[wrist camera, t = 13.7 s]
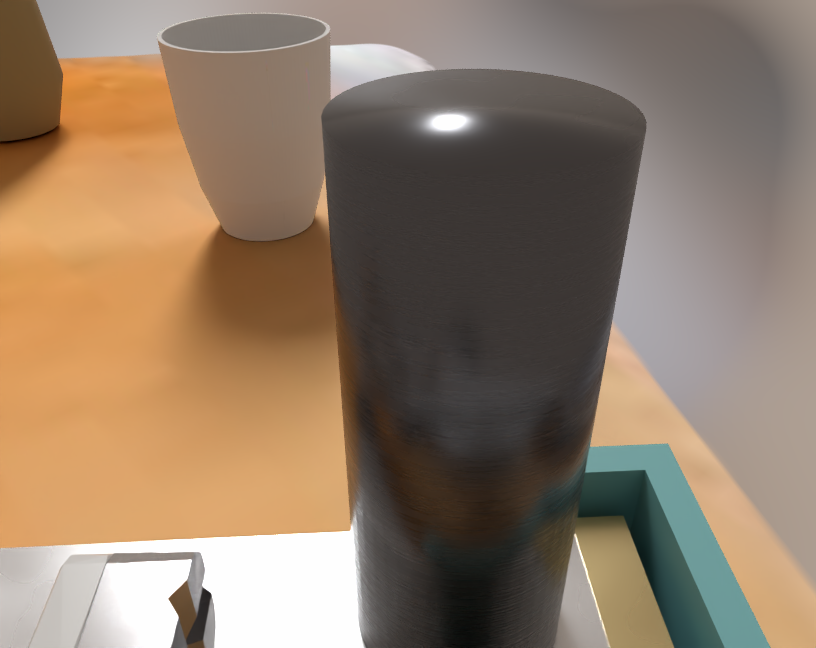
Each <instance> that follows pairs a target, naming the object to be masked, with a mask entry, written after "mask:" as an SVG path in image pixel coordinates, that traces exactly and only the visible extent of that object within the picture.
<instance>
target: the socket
mask: <svg viewBox="0 0 816 648" xmlns="http://www.w3.org/2000/svg"><path fill="white" fill-rule="evenodd" d="M602 516H624V519H625V521H626V524H627V526H628V529H629V532H630V534H631V537H632V539H633V542H634V544H635V547H636V550H637V552H638V555H639V557H640V560H641V563H642V565H643V568H644V570H645V573H646V576H647V578H648V581H649V583H650V586H651V589H652V591H653V594H654V596H655V599H656V602H657V604H658V607H659V609H660V612H661V615H662V617H663V620H664V622H665V625H666V628H667V630H668V633H669V635H670V638H671V641H672V643H673V646H674V648H770V646H769V644H768V642H767V640H766V638H765V636H764V634H763V632H762V630H761V628H760V626H759V624H758V622H757V620H756V618H755V616H754V614H753V612H752V610H751V608H750V606H749V604H748V602H747V600H746V598H745V596H744V594H743V592H742V590H741V588H740V586H739V584H738V582H737V580H736V578H735V576H734V574H733V572H732V570H731V568H730V566H729V564H728V562H727V560H726V558H725V556H724V554H723V552H722V550H721V548H720V546H719V544H718V542H717V540H716V538H715V536H714V534H713V532H712V530H711V528H710V526H709V524H708V522H707V520H706V518H705V516H704V514H703V512H702V510H701V508H700V506H699V504H698V502H697V500H696V498H695V496H694V494H693V492H692V490H691V488H690V486H689V484H688V482H687V480H686V478H685V476H684V474H683V473H682V471H681V469H680V467H679V465H678V463H677V461H676V459H675V457H674V455H673V453H672V451H671V449H670V447H669V445H668V444H649V445H625V446H602V447H590V448H589V454H588V459H587V465H586V471H585V476H584V482H583V487H582V493H581V499H580V504H579V510H578V516H577V518H581V517H602Z"/></svg>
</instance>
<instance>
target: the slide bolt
mask: <svg viewBox="0 0 816 648" xmlns="http://www.w3.org/2000/svg"><path fill="white" fill-rule="evenodd" d="M321 121H322V135H323V148H324V162H325V176H326V190H327V204H328V217H329V231H330V245H331V259H332V272H333V286H334V300H335V314H336V328H337V341H338V355H339V369H340V383H341V396H342V410H343V424H344V438H345V452H346V465H347V479H348V493H349V507H350V520H351V532H334V533H313V534H292V535H271V536H250V537H229V538H208V539H187V540H166V541H144V542H123V543H102V544H81V545H60V546H39V547H18V548H0V648H28V646H29V643H30V641H31V638H32V636H33V634H34V631H35V629H36V626H37V624H38V621H39V619H40V616H41V614H42V612H43V609H44V607H45V604H46V602H47V599H48V597H49V594H50V592H51V589H52V587H53V585H54V582H55V580H56V577H57V575H58V572H59V570H60V568H61V566H62V565H63V564H64V563H65V562H66V560H67V559H68V558H69V557H70V555H79V554H107V553H140V552H185V551H199V552H201V553H202V557H203V560H204V564H205V567H206V572H205V577H204V583H203V587H204V588H206V589H207V590H209V591H210V592H211V593H212V596H213V601H214V605H215V616H216V634H215V648H674V646H673V643H672V641H671V638H670V635H669V633H668V630H667V628H666V625H665V622H664V620H663V617H662V615H661V612H660V609H659V607H658V604H657V602H656V599H655V596H654V594H653V591H652V589H651V586H650V583H649V581H648V578H647V576H646V573H645V570H644V568H643V565H642V563H641V560H640V557H639V555H638V552H637V550H636V547H635V544H634V542H633V539H632V537H631V534H630V532H629V529H628V526H627V524H626V521H625V519H624V516H602V517H581V518H577V516H578V510H579V504H580V499H581V493H582V487H583V482H584V476H585V471H586V465H587V459H588V454H589V448H590V442H591V437H592V431H593V426H594V420H595V414H596V409H597V403H598V397H599V392H600V386H601V381H602V375H603V369H604V364H605V358H606V352H607V347H608V341H609V336H610V330H611V324H612V319H613V313H614V307H615V301H616V296H617V290H618V285H619V279H620V273H621V267H622V262H623V257H624V251H625V245H626V240H627V234H628V229H629V223H630V217H631V212H632V206H633V200H634V195H635V189H636V184H637V177H638V172H639V166H640V161H641V155H642V150H643V144H644V138H645V133H646V120H645V117H644V115H643V113H641V111H640V110H639V108H637V107H636V106H635V105H634V104H632V103H631V102H630V101H628V100H627V99H625V98H623V97H622V96H620V95H617V94H615V93H613V92H611V91H609V90H606V89H603V88H600V87H598V86H595V85H591V84H588V83H585V82H581V81H577V80H572V79H568V78H563V77H558V76H553V75H547V74H540V73H533V72H523V71H512V70H497V69H451V70H435V71H424V72H416V73H408V74H402V75H396V76H391V77H387V78H382V79H378V80H374V81H371V82H367V83H364V84H361V85H359V86H356V87H353V88H351V89H349V90H347V91H345V92H343V93H341V94H339V95H338V96H336V97H335V98H333V99H332V100H331V101H330V102H329V103H328V104H327V105H326V106H325V108H324V109H323V112H322V115H321Z"/></svg>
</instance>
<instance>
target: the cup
mask: <svg viewBox="0 0 816 648" xmlns="http://www.w3.org/2000/svg"><path fill="white" fill-rule="evenodd" d="M157 40H158V43H159V48H160V52H161V56H162V60H163V64H164V68H165V72H166V76H167V80H168V84H169V88H170V92H171V96H172V100H173V104H174V109H175V113H176V117H177V121H178V125H179V127H180V130H181V133H182V136H183V139H184V141H185V144H186V147H187V150H188V152H189V155H190V158H191V161H192V164H193V166H194V169H195V172H196V175H197V177H198V180H199V183H200V186H201V188H202V190H203V192H204V194H205V196H206V198H207V200H208V201H209V203H210V205H211V207H212V209H213V211H214V213H215V215H216V216H217V218H218V220H219V222H220V224H221V226H222V228H223V230H224V231H225V232H226V233H227V234H229V235H231V236H233V237H235V238H238V239H243V240H248V241H273V240H279V239H284V238H288V237H291V236H294V235H297V234H299V233H301V232H303V231H304V230H306V229H307V228H308V227H309V226H310V225H311V224H312V223H313V220H314V216H315V212H316V208H317V204H318V200H319V196H320V192H321V188H322V184H323V180H324V174H325V162H324V148H323V135H322V121H321V115H322V112H323V109H324V108H325V106H326V105H327V104H328V103H329V102H330V27H329V25H328V24H327V23H325V22H323V21H321V20H318V19H315V18H311V17H306V16H300V15H292V14H280V13H241V14H227V15H218V16H210V17H204V18H198V19H193V20H188V21H184V22H180V23H177V24H174V25H171V26H169V27H167V28H165V29H163V30H162V31H160V32H159V33H158V35H157Z"/></svg>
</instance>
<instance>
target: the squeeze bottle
mask: <svg viewBox="0 0 816 648" xmlns="http://www.w3.org/2000/svg"><path fill="white" fill-rule="evenodd" d="M62 82H63V73H62V69H61V67H60V64H59V61H58V59H57V56H56V53H55V50H54V48H53V45H52V42H51V40H50V37H49V34H48V32H47V29H46V26H45V23H44V21H43V18H42V15H41V13H40V10H39V7H38V4H37V2H36V0H0V141H11V140H18V139H25V138H30V137H33V136H37V135H41V134H44V133H46V132H48V131H50V130H53V129H54V128H55V127H56V126H58V125H59V124H60V110H61V96H62Z"/></svg>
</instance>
